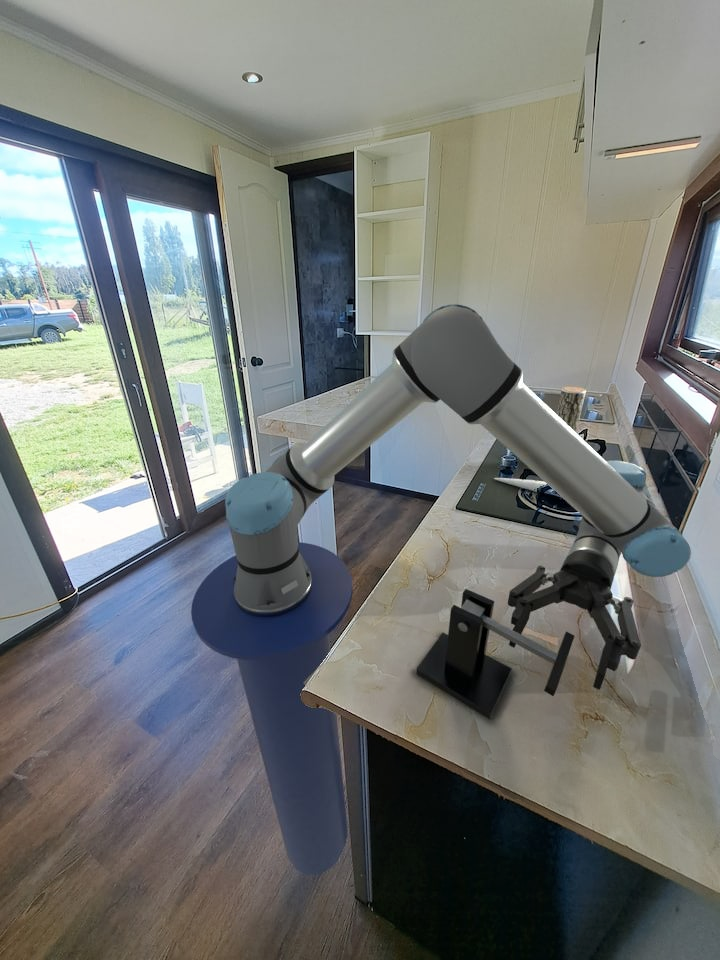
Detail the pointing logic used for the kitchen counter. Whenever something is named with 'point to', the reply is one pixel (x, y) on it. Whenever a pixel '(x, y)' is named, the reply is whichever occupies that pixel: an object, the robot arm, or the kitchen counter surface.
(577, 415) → the brown bark cylinder
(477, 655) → the bracket
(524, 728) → the kitchen counter surface
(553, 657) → the lever
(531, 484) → the unicorn horn
